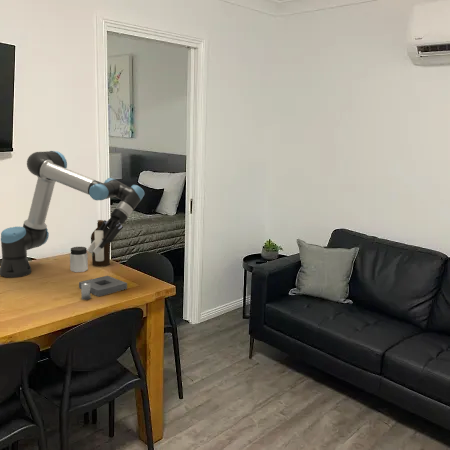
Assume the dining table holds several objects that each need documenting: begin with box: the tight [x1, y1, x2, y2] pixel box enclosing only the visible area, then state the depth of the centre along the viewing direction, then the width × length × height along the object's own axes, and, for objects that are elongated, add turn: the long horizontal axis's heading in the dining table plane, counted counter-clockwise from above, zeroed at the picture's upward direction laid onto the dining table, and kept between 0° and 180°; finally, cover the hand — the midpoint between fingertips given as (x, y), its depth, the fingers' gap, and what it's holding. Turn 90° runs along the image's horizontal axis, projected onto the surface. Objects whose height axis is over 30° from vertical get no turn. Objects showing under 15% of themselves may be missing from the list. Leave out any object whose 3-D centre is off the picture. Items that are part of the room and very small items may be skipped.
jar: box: [69, 246, 89, 273], centre depth 255 cm, size 9×8×12 cm
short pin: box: [80, 282, 92, 301], centre depth 214 cm, size 4×4×7 cm
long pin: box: [93, 230, 104, 261], centre depth 223 cm, size 4×4×14 cm
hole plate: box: [78, 275, 128, 298], centre depth 228 cm, size 16×16×3 cm
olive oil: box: [90, 219, 111, 267], centre depth 266 cm, size 11×11×25 cm
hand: (92, 252), depth 221 cm, fingers closed on long pin, 4 cm apart
